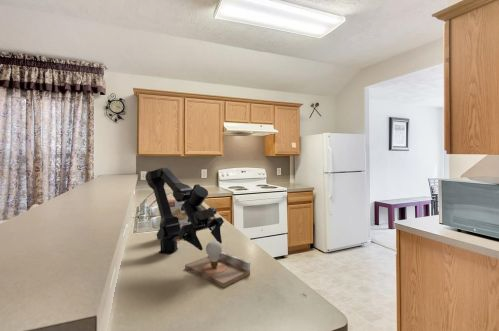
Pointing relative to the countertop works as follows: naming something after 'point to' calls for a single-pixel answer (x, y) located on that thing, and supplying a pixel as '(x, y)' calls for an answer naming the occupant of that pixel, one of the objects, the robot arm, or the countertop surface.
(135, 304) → the countertop surface
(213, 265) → the light bulb
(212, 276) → the board
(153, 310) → the countertop surface
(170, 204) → the cracker box
